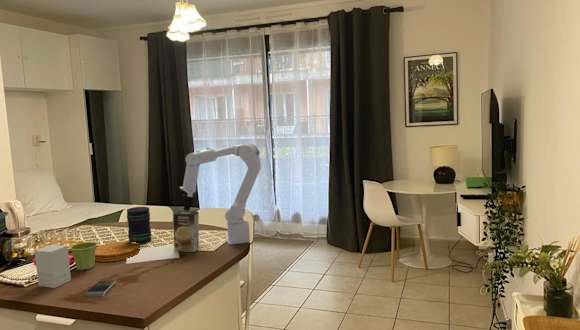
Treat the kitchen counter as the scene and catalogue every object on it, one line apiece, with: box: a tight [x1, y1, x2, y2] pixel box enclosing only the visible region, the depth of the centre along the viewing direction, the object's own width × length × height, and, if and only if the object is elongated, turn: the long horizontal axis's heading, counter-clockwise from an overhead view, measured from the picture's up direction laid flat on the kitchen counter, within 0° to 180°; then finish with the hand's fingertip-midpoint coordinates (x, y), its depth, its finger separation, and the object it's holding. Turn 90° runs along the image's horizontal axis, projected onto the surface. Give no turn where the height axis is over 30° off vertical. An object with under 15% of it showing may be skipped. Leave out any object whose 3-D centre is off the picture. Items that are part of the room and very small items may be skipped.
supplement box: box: [34, 244, 72, 289], centre depth 148 cm, size 7×7×13 cm
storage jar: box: [126, 206, 152, 245], centre depth 195 cm, size 10×10×15 cm
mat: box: [125, 244, 180, 265], centre depth 177 cm, size 20×18×1 cm
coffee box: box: [173, 210, 200, 253], centre depth 180 cm, size 9×6×16 cm
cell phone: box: [85, 280, 117, 298], centre depth 142 cm, size 6×11×1 cm, turn 1°
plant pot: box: [69, 241, 98, 271], centre depth 163 cm, size 9×9×9 cm
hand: (185, 207), depth 194 cm, fingers open, 7 cm apart
